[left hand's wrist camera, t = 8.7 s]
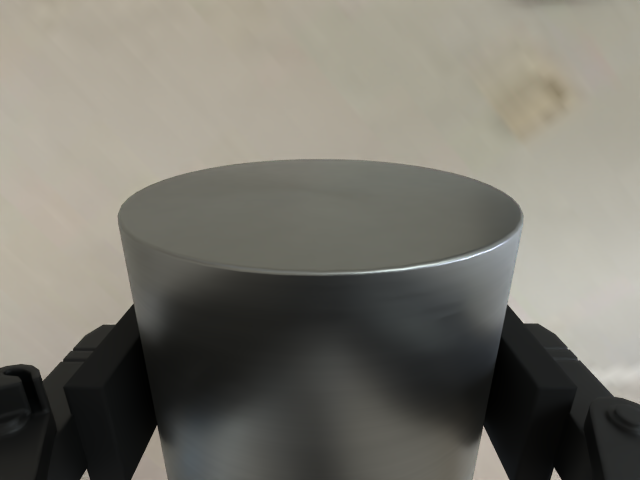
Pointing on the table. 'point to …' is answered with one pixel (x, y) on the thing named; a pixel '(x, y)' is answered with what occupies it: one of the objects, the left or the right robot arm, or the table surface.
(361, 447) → the rod
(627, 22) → the table surface
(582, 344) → the table surface
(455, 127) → the table surface
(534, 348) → the left robot arm
